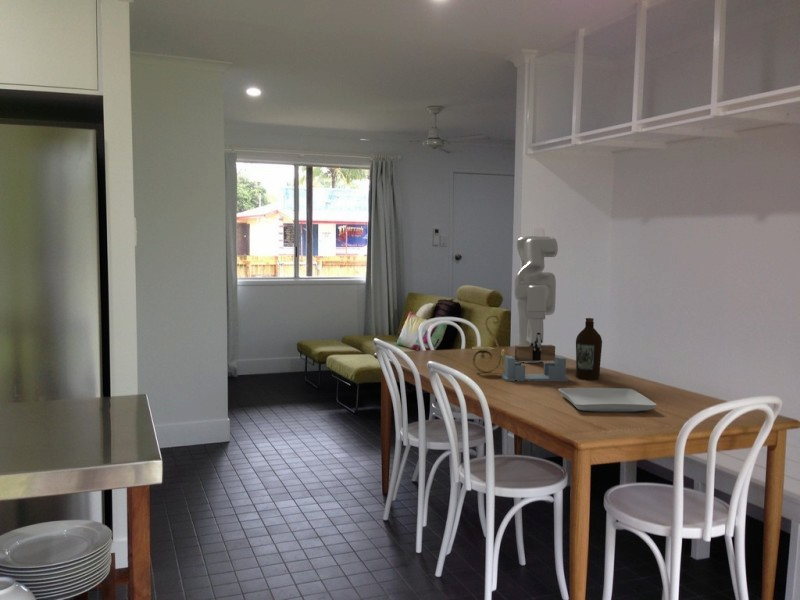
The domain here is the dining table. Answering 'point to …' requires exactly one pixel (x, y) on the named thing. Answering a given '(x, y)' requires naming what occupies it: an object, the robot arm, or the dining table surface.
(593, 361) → the olive oil
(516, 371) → the grey bracket base
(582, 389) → the square plate
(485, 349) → the wall sconce
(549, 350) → the rail
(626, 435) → the dining table surface
